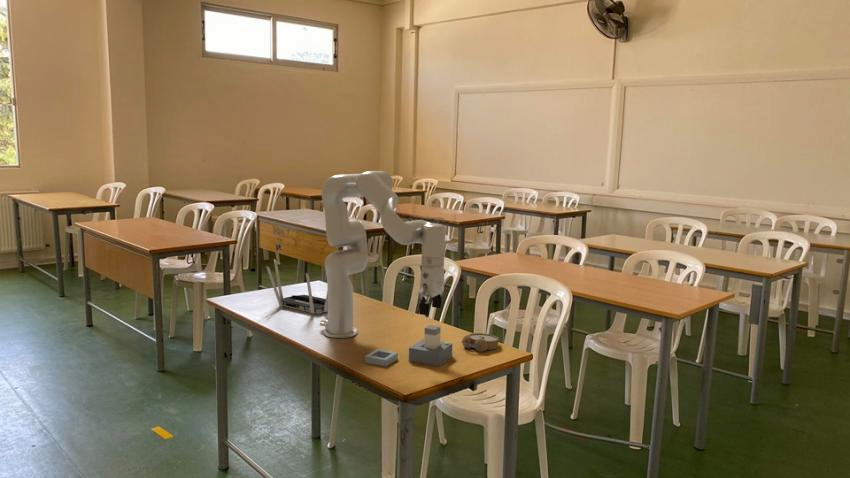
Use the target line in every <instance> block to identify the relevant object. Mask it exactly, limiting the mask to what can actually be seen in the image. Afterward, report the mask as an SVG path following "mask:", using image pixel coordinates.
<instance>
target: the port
mask: <svg viewBox="0 0 850 478" xmlns="http://www.w3.org/2000/svg"><path fill="white" fill-rule="evenodd" d="M452 357H453V343H451V342H444V341H440V346H439V347H438V348H436V349H429V348H424V338H422V339H421V340H419V341H417V342H416V343H414V344H412V346H409V348H408V361H409V362H413V363H414V362H415V363H418V364H419V363H420V364H424V365H430V366H435V367H440V366H441V365H443V364H444V363H445V362H447V361H448V360H449V359H451V358H452Z"/></svg>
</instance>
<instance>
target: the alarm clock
mask: <svg viewBox="0 0 850 478" xmlns="http://www.w3.org/2000/svg"><path fill="white" fill-rule="evenodd" d="M500 342H501V340H500V339H499V337H498V336H496V335H493V334H490V333H484V332H483V333H481V332H477V333H476V332H475V333H474V332H473V333H470V334H467V335H465V336H463V338H462V341H461V343H462V346H463V347H464V348H465V349H470V348H473V349H475V350H476V351H477V352H480V353H484V352H486V351H488V350H489V351H490V350H491V351H493V350H496V349H498V348H499V343H500Z"/></svg>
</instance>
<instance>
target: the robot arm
mask: <svg viewBox="0 0 850 478" xmlns="http://www.w3.org/2000/svg"><path fill="white" fill-rule="evenodd" d="M393 187H394V180H393V178H392V176H391V175H390V174H389V172H387V171H383V170H370V171H365V172H362V173H349V174H347V173H346V174H337V175H335V174H334V175H333V176H330V177H328V178H327V179H326V180H325V181H324V182H323V184H322V187H321V199H322V204H323V208H324V209H323V210H324V220H325V221H324V222H325V232H326V240H327V243H328V245H329V246H331V247H332V248H341V247H342V248H343V247H346V248H347V249H341V250H337V251H333V252H331V253H329V254H328V255H326V258H325V261H324V270H325V275H326V284H327V285H326V287H327V290H328V311H327V319H323V318H321V320H320V323H319V326H321V327H324V330H323V335H324V336H326V337H328V338H332V339H347V338H351V337H354V336H356V335H357V334H358V329H357V328H356V327H355V326H354V286H353V283H352V281H351V280H352V279H350V275H354V274H358V273H361V272H364V271H365V270H366V268H367V266H368V262H369V255H368V254H369V253H368V243H367V241H368V240H367V231H366V227H365V226H364V225H363V223H362V222H360V221H359V220H358V219H349V211H348V210H349V209H348V206H347V205H346V203H345V201H344V200H343V199H347V198H348V199H349V198H350V199H351V198H360V197H364V198H365V199H366V200H367V202H369V204H370V205H371V206H373V208H375V210H376V211H378V213H379V217H380V218H379V219H380V223H381V225H382V228H383V230H384V231H385V232H386V233H387V234H388V235H389V237H391V238H392V240H394V241H395V242H396V243H398V244H400V245H402V246H403V245H404V246H406V245H407V246H408V245H412V244H417V243H418V244H420V243H421V260H420V261H421V263H420V265H421V266H422V267H421V271H420V281H419V282H420V283H419V291H418V292H417V295H418V303H419V309H418V310H419V312H418V314H419V315H423V316H429V315H430V313H429V312H430V303H429V301H430V299H431V307H432V308H437V309H441V308H442V297H443V293H444V291H445V267H444V265H445V249H446V248H445V247H446V231H447V229H446V226H445V225H444V224H441V223H434V222H429V221H427V220H424V219H416V220H409V221H408V220H407V221H404V220H403V219H402V218H401V217H400V216H399V215H398V214H397V213H396V212H395V210H396V208H397V206H398V204H399V202H400V201H399V200H400V198H399V196H398V194H396V193H395V191H394V190H393Z"/></svg>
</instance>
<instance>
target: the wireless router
mask: <svg viewBox="0 0 850 478" xmlns="http://www.w3.org/2000/svg"><path fill="white" fill-rule="evenodd" d="M273 262H274V263H273V264H274V269H275V277H276V280H277V281H276V282H277V285H276V283H275V279H274V276H273V274H272V271H271V268H270V267H269V266H268V265H266V270H267V273H268V275H269V279H270V282H271V285H272V289H273V291H274V293H275V296H276V300H277V302H278V305H279V307H283V306H285V307H284V308H288V307H289V309H292V308H293V310H297V309H298V310H297V311H303V312H307V313H311V314H316V315H320V314H322V313H328V289H327V291H326V296H325V298H322V297H318V296H313V295H312V288H311V281H310V280H311V279H310V275H309V274H308V273H307V272H305V279H306V286H307V293H308V294H298V295H295V294H294V295H291V296H286V297H284V293H283V290H282V284H281V278H280V273H279V266H278V261H277V260H276V259H275V258H274V259H273ZM277 287H278V288H277Z"/></svg>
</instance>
